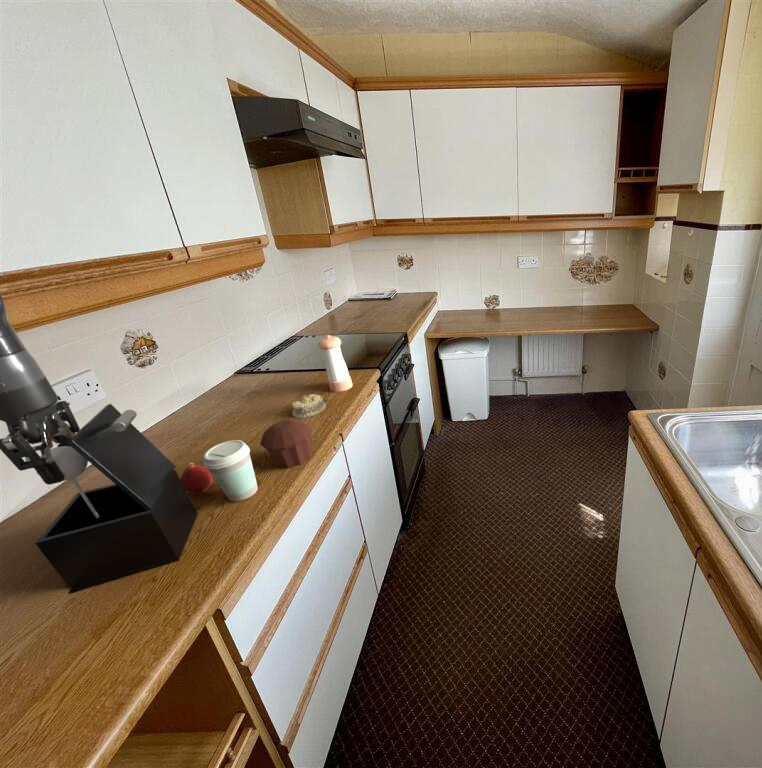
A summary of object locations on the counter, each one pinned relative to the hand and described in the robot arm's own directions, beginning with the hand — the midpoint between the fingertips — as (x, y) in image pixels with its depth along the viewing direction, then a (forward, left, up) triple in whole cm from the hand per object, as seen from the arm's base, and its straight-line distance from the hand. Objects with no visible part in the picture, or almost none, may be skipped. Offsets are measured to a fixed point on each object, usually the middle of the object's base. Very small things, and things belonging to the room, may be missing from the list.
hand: (67, 470), depth 69 cm
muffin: (+29, +20, -20) cm, 41 cm away
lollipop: (0, 0, -11) cm, 11 cm away
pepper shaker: (+42, +60, -20) cm, 76 cm away
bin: (+3, 0, -20) cm, 20 cm away
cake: (+32, +47, -20) cm, 60 cm away
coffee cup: (+19, +10, -20) cm, 30 cm away
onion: (+10, +15, -20) cm, 27 cm away
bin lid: (+8, 0, 0) cm, 8 cm away
